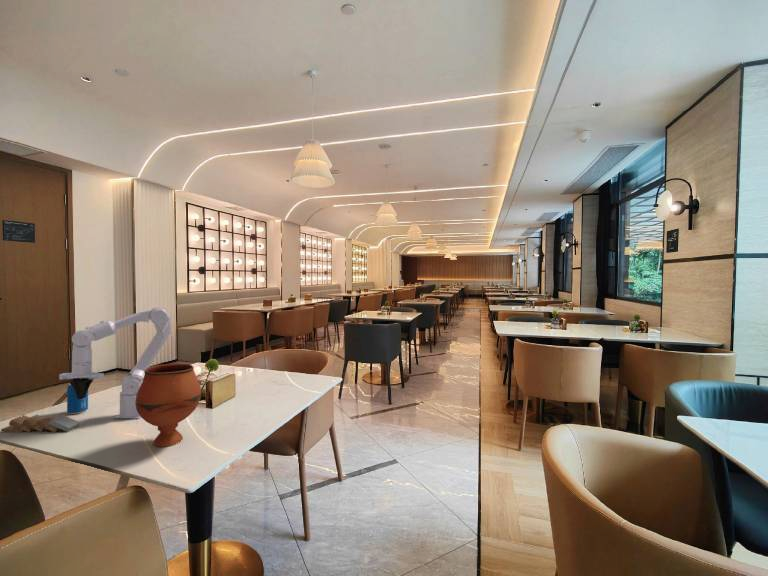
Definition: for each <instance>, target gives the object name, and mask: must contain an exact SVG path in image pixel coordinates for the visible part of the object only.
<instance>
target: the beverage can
mask: <svg viewBox="0 0 768 576" xmlns="http://www.w3.org/2000/svg"><path fill="white" fill-rule="evenodd" d="M66 389H67V393H66V397H67V399H66V413H67V414H69V415H79V414H83V413H85V412H86V411H87V410H89V390H88V391H87V394H86V397H85V398H83V399H78V398H77V395H76V392H75V390H74V388H73V387H72V385H71V384H70V382H69V383H68V385H67V388H66Z"/></svg>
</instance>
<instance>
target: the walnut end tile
mask: <svg viewBox="0 0 768 576" xmlns="http://www.w3.org/2000/svg"><path fill="white" fill-rule="evenodd" d="M1 431H4V432H3V433H23V431H24V430H22V429H19V428H16V427H14V426H11V425H8V426H6V427H2V428H0V432H1ZM24 432H25V431H24Z"/></svg>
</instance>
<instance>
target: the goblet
mask: <svg viewBox="0 0 768 576" xmlns="http://www.w3.org/2000/svg"><path fill="white" fill-rule="evenodd" d="M194 368H195V367H194V366H193V365H192V364H188V363H187V364H186V363H166V364H165V363H164V364H157V365H151V366H150V367H149V368H147V369H146V370H145V371H144V373H145V375H144V378H143V381H142V383H141V386H140V388H139V390H138V392H137V395H136V401H135V405H136V410H137V412H138V414H139V415H140V418H141V419H142V420H144V421H145V422H146V423H148V424H149V425H152V426H154V427H157V431H158V432H159V433H158V435H157V436H156V437H155V438H154V440H153V443H152V444H153V446H154V447H158V448H160V447H162V448H163V447H164V448H165V447H166V446H167V447H172V446H175V445H177V444H176V443H178V442H180V441H181V440H182V441H183V439H184V437H183V435H182V434H181V432H180V431H178V430H177V429H176V428H177V427H178V426H179V423H181V422H182V421H184V420H185V419H187V418H188V417H189V416H191V415H192V413H194V411H195V410H196V409H197V407H198V405H199V403H200V401H201V397H202V387H201V385H200V381H199V379H198V376H197V374H196V373H195V371H194ZM182 441H181V442H182ZM181 442H180V443H181ZM174 444H175V445H174ZM178 444H179V443H178ZM171 445H172V446H171Z"/></svg>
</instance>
